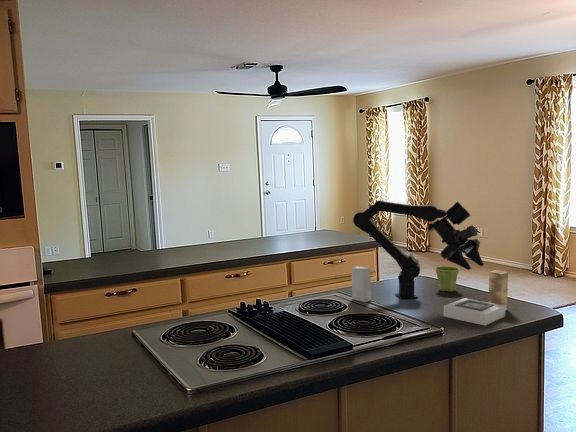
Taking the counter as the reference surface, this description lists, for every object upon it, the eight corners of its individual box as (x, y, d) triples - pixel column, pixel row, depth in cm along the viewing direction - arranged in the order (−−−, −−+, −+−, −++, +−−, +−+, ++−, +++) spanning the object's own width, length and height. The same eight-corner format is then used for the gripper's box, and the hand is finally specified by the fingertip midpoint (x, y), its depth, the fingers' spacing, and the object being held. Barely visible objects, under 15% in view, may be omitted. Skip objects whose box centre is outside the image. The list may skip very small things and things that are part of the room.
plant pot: (429, 288, 205) (429, 267, 204) (447, 286, 209) (447, 265, 208) (445, 293, 197) (446, 271, 196) (464, 291, 200) (464, 269, 200)
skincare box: (371, 300, 188) (371, 267, 187) (363, 302, 185) (363, 269, 184) (359, 297, 193) (359, 265, 191) (350, 299, 190) (350, 267, 189)
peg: (488, 309, 174) (489, 272, 173) (494, 307, 177) (495, 270, 176) (501, 312, 171) (502, 273, 170) (506, 309, 174) (508, 271, 173)
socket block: (443, 316, 167) (443, 304, 166) (464, 308, 176) (464, 296, 176) (485, 325, 157) (485, 313, 156) (505, 316, 166) (505, 304, 166)
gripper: (449, 220, 174) (479, 256, 167) (475, 216, 187) (504, 249, 180) (428, 241, 181) (456, 276, 174) (455, 236, 194) (482, 268, 187)
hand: (476, 267), depth 178 cm, fingers open, 9 cm apart
